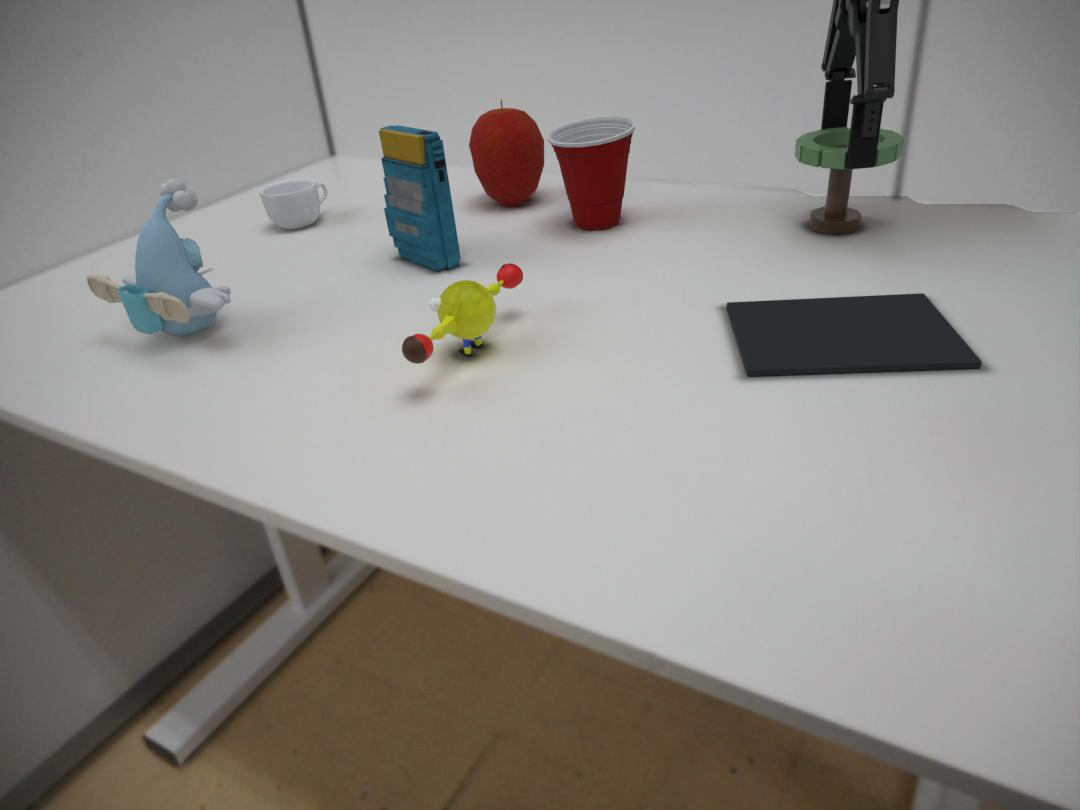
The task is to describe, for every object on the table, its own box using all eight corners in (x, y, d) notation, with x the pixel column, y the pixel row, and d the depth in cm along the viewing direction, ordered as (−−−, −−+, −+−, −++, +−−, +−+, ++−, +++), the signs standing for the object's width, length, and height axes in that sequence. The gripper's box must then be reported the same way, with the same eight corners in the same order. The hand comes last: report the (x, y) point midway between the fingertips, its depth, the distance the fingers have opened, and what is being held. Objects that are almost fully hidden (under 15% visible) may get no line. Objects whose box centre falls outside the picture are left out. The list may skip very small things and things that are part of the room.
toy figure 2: (495, 306, 77) (486, 243, 73) (542, 313, 74) (536, 248, 71) (389, 393, 64) (372, 322, 60) (442, 405, 61) (428, 332, 58)
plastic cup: (539, 222, 98) (530, 127, 91) (609, 203, 101) (605, 111, 95) (580, 245, 89) (573, 142, 83) (655, 224, 93) (654, 124, 87)
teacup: (291, 237, 101) (280, 198, 99) (259, 229, 106) (247, 191, 103) (348, 214, 108) (339, 177, 105) (315, 208, 112) (306, 172, 109)
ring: (882, 139, 87) (884, 123, 86) (914, 164, 77) (917, 146, 77) (787, 147, 88) (788, 131, 87) (807, 172, 79) (809, 155, 78)
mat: (922, 298, 70) (923, 292, 69) (980, 368, 59) (982, 361, 58) (726, 307, 72) (726, 302, 71) (747, 376, 61) (748, 370, 60)
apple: (562, 196, 106) (555, 92, 99) (517, 218, 100) (505, 109, 92) (508, 188, 112) (497, 89, 105) (462, 208, 106) (447, 104, 98)
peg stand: (852, 216, 89) (863, 139, 84) (865, 233, 84) (878, 152, 80) (804, 219, 90) (812, 143, 85) (814, 235, 85) (824, 155, 80)
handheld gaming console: (466, 264, 87) (446, 132, 79) (438, 276, 85) (414, 141, 77) (418, 247, 93) (395, 123, 85) (390, 258, 91) (364, 131, 83)
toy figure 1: (284, 323, 78) (240, 180, 70) (198, 369, 71) (138, 216, 63) (189, 298, 86) (140, 167, 78) (103, 337, 79) (40, 197, 71)
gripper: (805, -78, 81) (789, 131, 93) (867, -79, 62) (837, 186, 73) (877, -86, 80) (852, 126, 92) (964, -90, 61) (917, 180, 72)
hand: (845, 153), depth 83 cm, fingers closed on ring, 11 cm apart
